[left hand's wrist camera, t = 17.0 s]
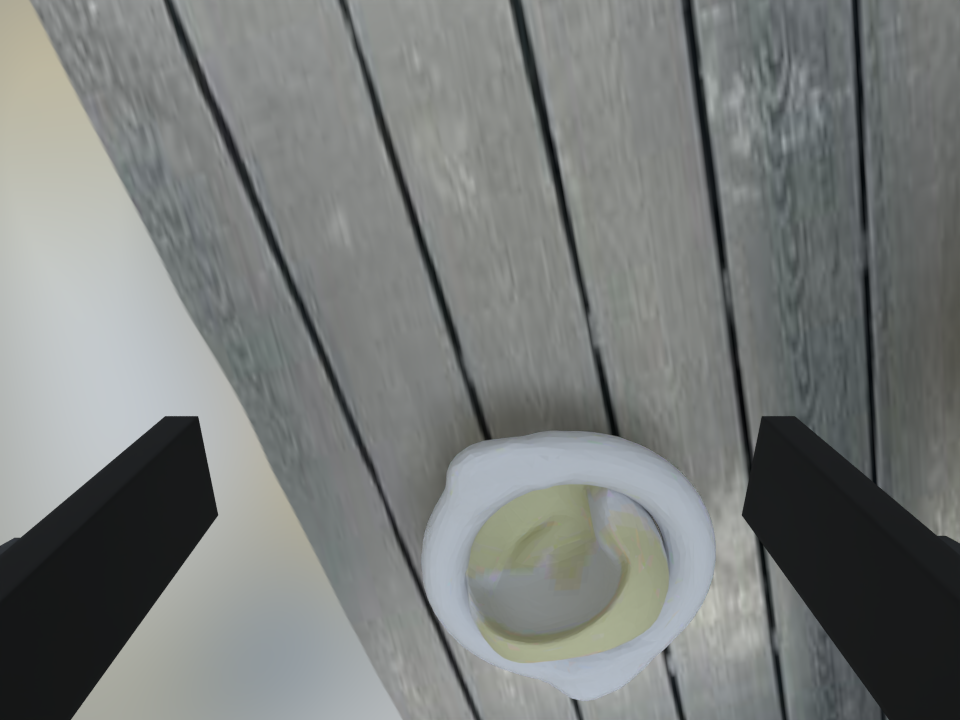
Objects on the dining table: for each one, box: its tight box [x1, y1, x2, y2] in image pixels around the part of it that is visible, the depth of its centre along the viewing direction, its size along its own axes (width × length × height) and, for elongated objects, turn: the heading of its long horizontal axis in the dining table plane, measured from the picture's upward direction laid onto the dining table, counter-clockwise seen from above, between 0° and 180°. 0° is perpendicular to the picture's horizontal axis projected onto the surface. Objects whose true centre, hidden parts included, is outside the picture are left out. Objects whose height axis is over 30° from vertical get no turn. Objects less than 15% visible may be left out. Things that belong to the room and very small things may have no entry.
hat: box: [421, 431, 716, 701], centre depth 41 cm, size 25×22×15 cm
